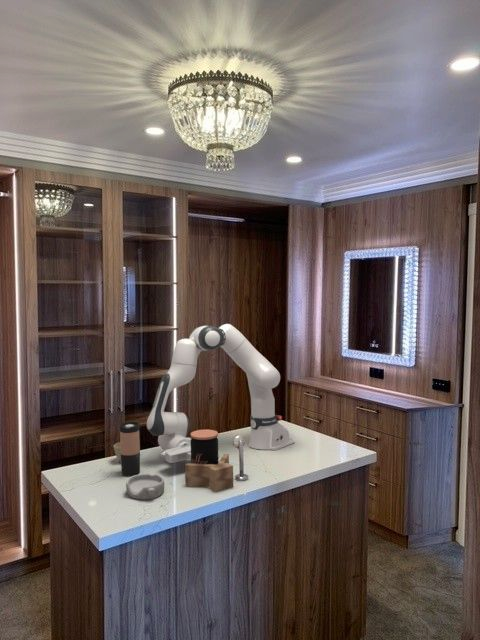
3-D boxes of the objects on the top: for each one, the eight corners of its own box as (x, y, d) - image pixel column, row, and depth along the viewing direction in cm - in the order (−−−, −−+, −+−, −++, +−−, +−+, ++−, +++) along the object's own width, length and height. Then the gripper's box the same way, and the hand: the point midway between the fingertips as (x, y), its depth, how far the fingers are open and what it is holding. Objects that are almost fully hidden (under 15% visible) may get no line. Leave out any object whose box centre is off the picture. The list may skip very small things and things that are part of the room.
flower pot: (131, 465, 203) (131, 449, 203) (109, 464, 205) (109, 447, 205) (141, 457, 213) (140, 441, 213) (120, 456, 215) (119, 440, 215)
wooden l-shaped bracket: (227, 472, 193) (226, 453, 193) (246, 482, 183) (245, 462, 182) (183, 484, 182) (183, 464, 181) (201, 496, 171) (200, 474, 171)
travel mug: (134, 468, 200) (132, 420, 199) (144, 473, 195) (142, 424, 193) (117, 473, 195) (116, 424, 194) (127, 478, 189) (126, 428, 188)
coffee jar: (185, 479, 188) (184, 433, 187) (206, 471, 195) (205, 427, 194) (203, 486, 180) (202, 439, 179) (224, 478, 187) (223, 433, 186)
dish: (157, 502, 168) (157, 488, 167) (119, 500, 170) (119, 486, 170) (170, 485, 182) (170, 472, 182) (135, 484, 184) (135, 471, 184)
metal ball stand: (243, 475, 191) (242, 434, 190) (250, 479, 186) (250, 437, 186) (232, 478, 188) (231, 436, 187) (240, 482, 184) (239, 439, 183)
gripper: (158, 445, 197) (174, 454, 185) (202, 436, 208) (219, 444, 197) (159, 461, 197) (175, 471, 186) (202, 451, 209) (219, 459, 197)
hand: (198, 457), depth 191 cm, fingers closed, pressing on coffee jar
